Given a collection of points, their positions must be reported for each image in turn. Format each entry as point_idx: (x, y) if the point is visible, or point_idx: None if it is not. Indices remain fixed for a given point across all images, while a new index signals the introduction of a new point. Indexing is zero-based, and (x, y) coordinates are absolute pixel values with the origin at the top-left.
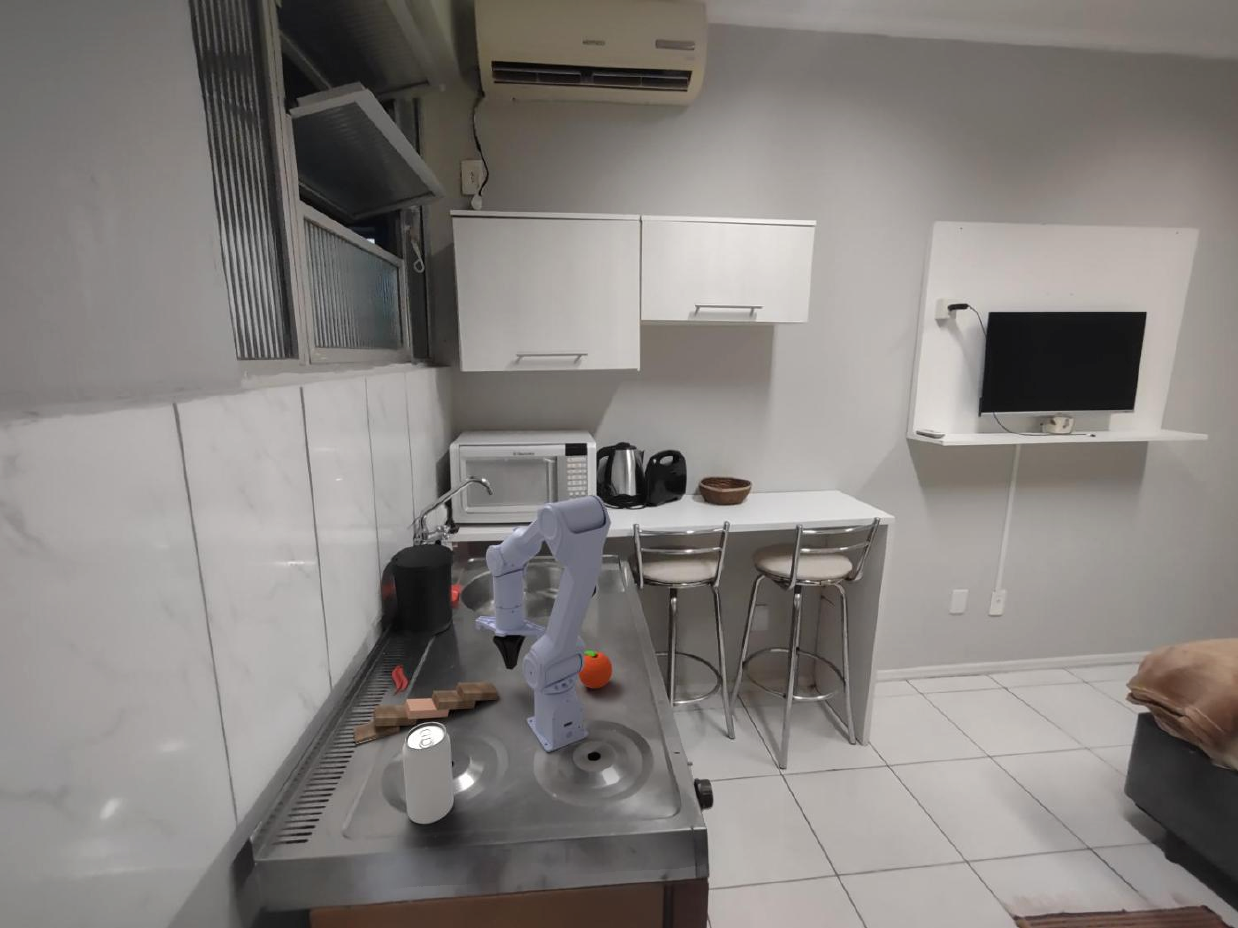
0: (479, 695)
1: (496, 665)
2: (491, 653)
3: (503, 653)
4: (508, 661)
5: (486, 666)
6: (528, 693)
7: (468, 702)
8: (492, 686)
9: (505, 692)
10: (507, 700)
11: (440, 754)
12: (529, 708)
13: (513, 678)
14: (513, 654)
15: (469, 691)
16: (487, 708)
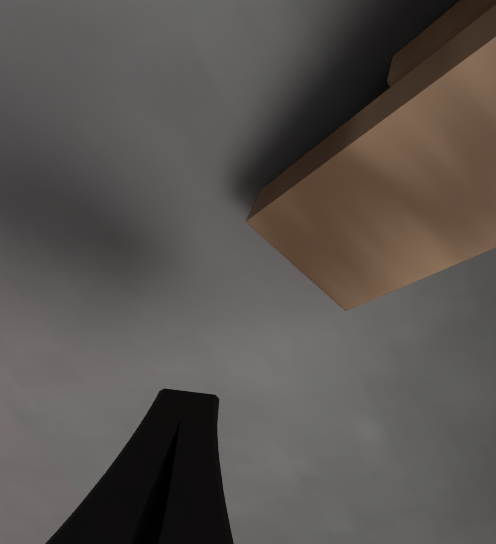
0: (364, 122)
1: (393, 448)
2: (452, 512)
3: (190, 542)
4: (158, 451)
5: (446, 437)
6: (104, 279)
7: (442, 30)
8: (317, 268)
9: (241, 265)
10: (188, 196)
11: None
12: (7, 149)
13: (255, 376)
14: (56, 536)
15: (469, 94)
16: (282, 81)
